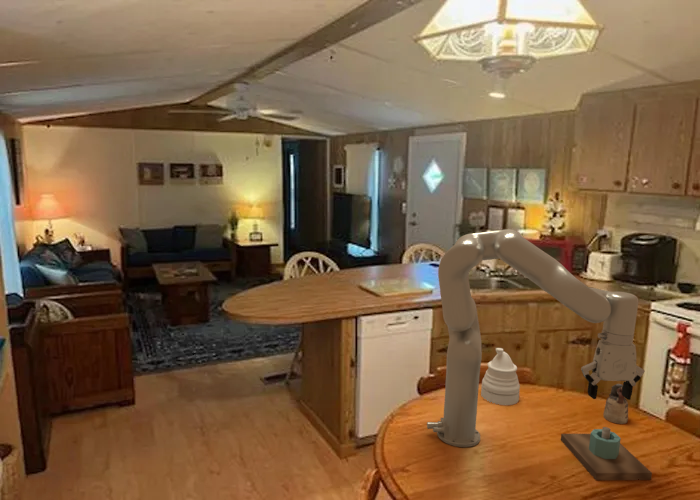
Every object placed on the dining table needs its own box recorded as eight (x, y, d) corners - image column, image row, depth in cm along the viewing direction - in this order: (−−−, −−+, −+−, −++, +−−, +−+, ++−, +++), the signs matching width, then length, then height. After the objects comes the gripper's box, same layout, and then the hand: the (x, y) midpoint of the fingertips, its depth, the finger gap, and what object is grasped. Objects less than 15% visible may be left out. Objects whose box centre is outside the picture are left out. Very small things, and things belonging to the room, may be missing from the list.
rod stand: (595, 480, 135) (599, 448, 134) (560, 439, 155) (563, 411, 154) (651, 479, 136) (655, 448, 135) (609, 439, 156) (612, 411, 154)
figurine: (624, 415, 172) (628, 381, 170) (630, 425, 165) (634, 390, 163) (601, 412, 174) (605, 378, 172) (606, 422, 167) (610, 387, 165)
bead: (598, 459, 142) (600, 442, 141) (585, 445, 148) (586, 429, 148) (622, 458, 142) (625, 442, 141) (608, 445, 149) (610, 429, 148)
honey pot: (499, 408, 174) (503, 357, 171) (473, 393, 186) (476, 345, 183) (526, 400, 181) (531, 351, 178) (499, 386, 192) (503, 340, 189)
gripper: (593, 341, 136) (585, 403, 138) (656, 343, 137) (647, 404, 140) (579, 332, 143) (572, 390, 146) (639, 334, 144) (631, 391, 147)
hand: (609, 397), depth 143 cm, fingers open, 9 cm apart
